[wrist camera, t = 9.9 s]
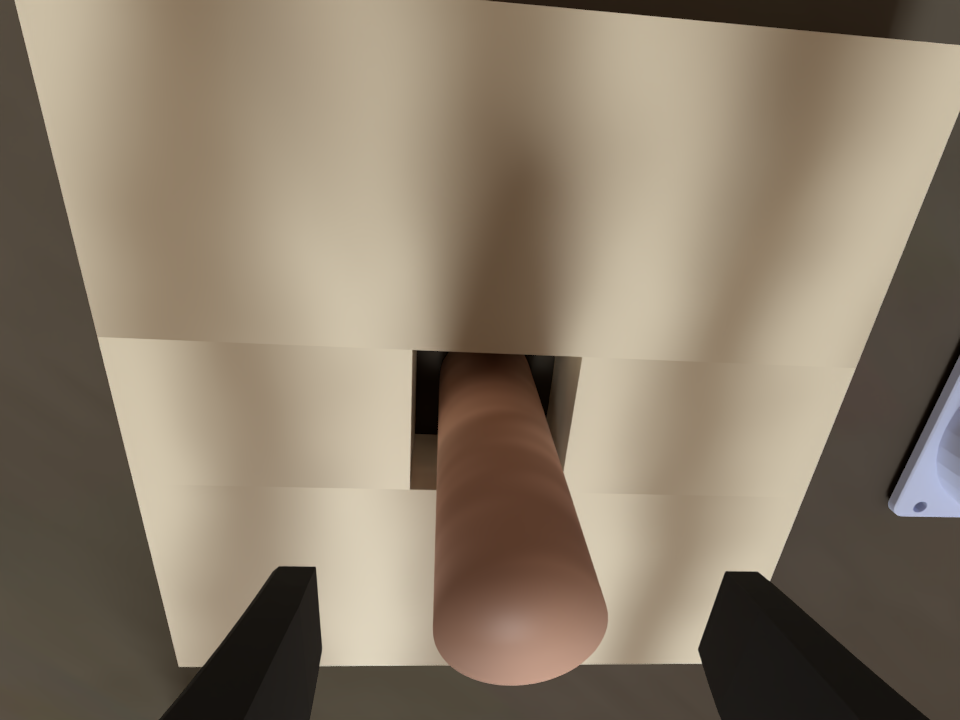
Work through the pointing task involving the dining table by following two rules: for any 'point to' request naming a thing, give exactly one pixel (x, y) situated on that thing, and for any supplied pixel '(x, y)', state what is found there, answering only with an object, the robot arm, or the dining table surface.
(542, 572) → the peg
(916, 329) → the dining table surface
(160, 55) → the socket block
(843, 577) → the dining table surface
